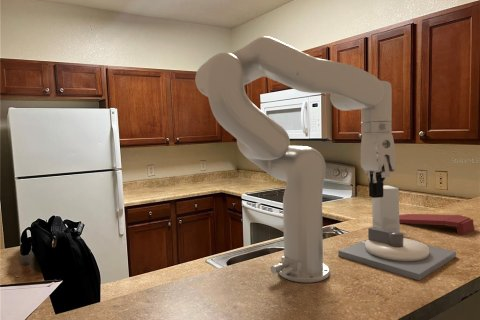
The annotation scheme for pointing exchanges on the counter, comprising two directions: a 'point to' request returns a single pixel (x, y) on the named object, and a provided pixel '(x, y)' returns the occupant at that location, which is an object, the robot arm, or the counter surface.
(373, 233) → the dial
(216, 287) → the counter surface
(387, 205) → the skincare box
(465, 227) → the dark red ramp
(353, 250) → the dial plate
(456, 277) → the counter surface
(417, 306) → the counter surface
